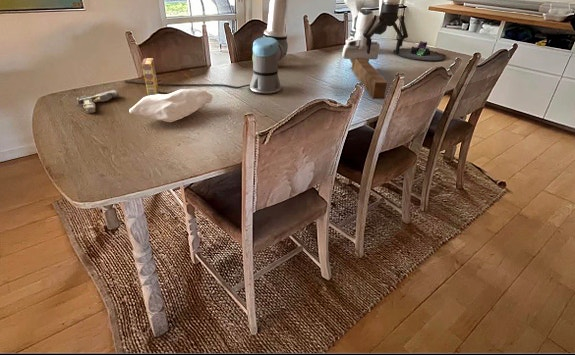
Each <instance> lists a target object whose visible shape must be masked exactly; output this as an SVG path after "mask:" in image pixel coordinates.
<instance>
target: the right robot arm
mask: <svg viewBox="0 0 575 355" xmlns="http://www.w3.org/2000/svg"><path fill="white" fill-rule="evenodd" d="M343 3H344V4H345V6H346V7H347V8H348V9H349V11H350V13H351V21H352V22H351V29H350V32H349V37H348V38H347V39H346V40H345V44H344V45H343V48H342V51H341V52H342V53H341V57H342V58H343V60H349V61H350V63H351V64H350V68H351V67H354V63H353V62H352V61H353V59H356V58H365V59H366V60H367V61H368V62H369V63H370V60H377V59H378V58H379V50H380V43H379V42H378V41H371V48H370V54H368V53H367V46H366V37H364V36H363V33H364V32H365V30H366V28H367V27H368V25H369V23H370V22H371V20H372V16H373V15H374V11H373V10H372V9H377V8H378V14H376V15H377V16H379V15H380V12H381V5H382V3H383V2H382V0H343ZM379 21H380V20H379V18H378V19H377V21H375V23H374V25H373V27H372V28H371V30H372V29H373V28H374V27H375V26H376V25H377V24H378V23H379ZM387 29H388V26H382V27H380V28H379V29H378V30H377V31H376V32H375V34H374V35H378V36H379V35H382V34H384V33H385V32H386V31H387ZM371 30H370V31H369V33H370V32H371ZM369 33H368V34H369Z"/></svg>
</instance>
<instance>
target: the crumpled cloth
mask: <svg viewBox="0 0 575 355" xmlns="http://www.w3.org/2000/svg"><path fill="white" fill-rule="evenodd" d="M213 97H214V96H213V94H212V93H210V92H208V91H206V90H203V89H201V88H187V89H186V88H185V89H184V88H183V89H177V90H175V91H173V92H171V93H167V94H163V93H158V94H156V95H150V96H148V95H146V96H144V97H142V98H141V99H140V100H139V101H138V102H137V103H136V104H134V105H133V106H132V107H131V108H129V114H130V115H135V116H140V117H145V118H146V119H149V120H152V121H155V120H158V121H163V122H166V123H174V122H176V121H178V120H181V119H183V118H185V117H188V116H190V115H192V114H193V113H195V112H196V111H197V110H199V109H200V108H202V107H204V106H206V105H207V104H210V102H211V101H212V100H213V99H214V98H213Z"/></svg>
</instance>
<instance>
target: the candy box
mask: <svg viewBox="0 0 575 355" xmlns="http://www.w3.org/2000/svg"><path fill="white" fill-rule="evenodd" d="M141 66H142V73H143V78H144V82H145V83H146V84H145V87H146V92H147V96H150V95H156V94H159V91H160V90H159V85H158V84H157V83H158V79H157V73H156V66H155V62H154V58H153V57H151V58H150V57H149V58H146V57H145V58H143V60H142V63H141Z"/></svg>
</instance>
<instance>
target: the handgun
mask: <svg viewBox="0 0 575 355" xmlns="http://www.w3.org/2000/svg"><path fill="white" fill-rule="evenodd" d="M119 96H120V94H119V92H118V91H117V90H116V89H112V90H108V91H105V92H104V91H103V92H101V93H96V94H94V95H86V94H85V95H84V94H83V95H81V96H80V97H77V98H76V101H77V104H78V105H82V108H83V109H84V110H85V113H87V114H91V113H95V112H96V104H95V103H98V102H106V101H109V100H111V99H113V98H117V97H119Z"/></svg>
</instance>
